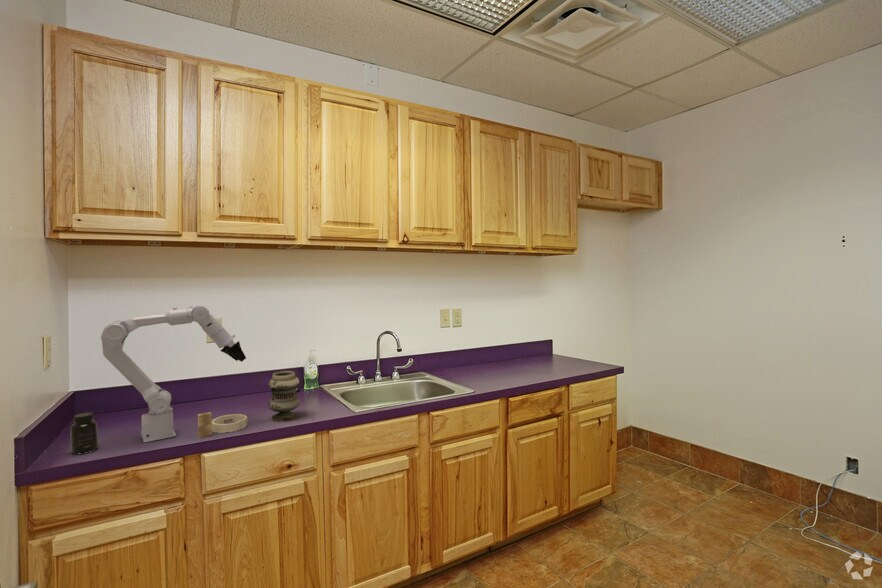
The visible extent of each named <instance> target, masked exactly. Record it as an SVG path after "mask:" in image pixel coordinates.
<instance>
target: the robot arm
mask: <svg viewBox="0 0 882 588" xmlns="http://www.w3.org/2000/svg"><path fill="white" fill-rule="evenodd" d="M193 322H195V323H197V324H198V325H199V326H200V327H201V329H202V330H203V332H204V333H205V334H206V335H207V336H208V337H209V338H210V339H211V340H212V342H214V344H215V345H217V348H218V349H220V352H221V353H223V354H226V355H228V356H229V357H230V358H232V359H233V360H234V361H236V362H238V361H239V362H243V361H245V360H246V359H247V356H246V354H245V353H244V351H243V350H242V347H241V343H240V341H239V340H238V341H237V342H234V338H235V337H236V335H235V334H232V335H231V334H230V333H229V332H228V330H226V328H225V327H223V325H222V324H221V323H220V322H219V321H218V320H217V319H216V317H214V315H212V314H211V313H210V311H209V310H208V308H207V307H205V306H203V305H196V306H194V307H193V305H188V307H182V308H178V307H176V306H175V307H172V309H169V310H167V312H165V313H164V314H163V313H162V314H154V315H153V314H152V315H143V316H134V317H130V318H124V319H122V320H115V321H113V322H111V323H109V324H107V325H105V327H104V328H103V331H102V333H101V336H100V340H101V345H102V355H103V356H104V358H105V359H106V360H108V362H109V363H110V364H111V365H112V366H113V367H114V368H115V369H116V370H117V371H118V372H119V373H120V374H121V375H122V376H123V377H124V378H125V379H126V380H127V381H128V382H129V383H130V384H131V385H132V386H133V387H134V388H135V389H136V390H137V391H138V392H139V394H141V396H142V397H143V400H144V401H145V402H146V403H147V405H148V413H143V414H142V415H141V418H140V419H141V431H140V435H141V439H142V441H143V443H150V442H154V441H158V440H165V439H167V438H173V437H177V433H176V432H175V430H174V411H173V409H174V408H173V407H172V406H171V403H172V394H171V393H170V392H169V391H168V390H166V389H163V388H161V386H159V385H158V384H157V383H155V382H154V381H153V380H152V379H151V378H150V377H149V376H148V375H147V374H146V373H145V372H144V371H143V369H141V368H140V367H139V366H138V365H137V364H136V363H135V361H133V359H131V357H130V356H128V354H127V353H125V351H124V349H123V348H124V345H125V340H126V339H127V338H128V336H129V335H130V333H132V332H133V331H135V330H137V329H138V328H141V327H146V326H153V325H159V324H168V325H170V326H178V325H179V326H180V325H185V324H192V323H193Z"/></svg>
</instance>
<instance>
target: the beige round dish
mask: <svg viewBox="0 0 882 588" xmlns="http://www.w3.org/2000/svg"><path fill="white" fill-rule="evenodd" d="M248 425H249V422H248V416H247V415H246V414H240V413H235V414H233V413H231V414H225V415H221V416H218V417H216V418H213V419H212V433H216V432H217V434H222V433H223V434H227V433H226V432H229V433H232V432H233V431H234V432H237V430H238V431H241V430H243V429H245V428H246V427H248ZM242 428H243V429H242ZM240 429H241V430H240ZM234 432H233V433H234Z"/></svg>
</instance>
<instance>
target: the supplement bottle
mask: <svg viewBox="0 0 882 588" xmlns="http://www.w3.org/2000/svg"><path fill="white" fill-rule="evenodd" d="M69 431H70V433H69V435H70V451H71V454H72V453H74V454H73V455H76V454H78V453H85V452H89V451H92V450H94V449H96V448H97V449H99V436H98V435H99V433H98V423H97V421H95V420H94V413H93V412H83V413H79V414H75V415H74V416H73V424H72V425H71V426H70V428H69ZM97 449H96V450H97ZM94 451H95V450H94ZM92 452H93V451H92ZM89 453H90V452H89ZM85 454H86V453H85ZM78 455H79V454H78Z"/></svg>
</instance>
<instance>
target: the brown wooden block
mask: <svg viewBox="0 0 882 588" xmlns="http://www.w3.org/2000/svg"><path fill="white" fill-rule="evenodd" d="M212 420H213V419H212V412H211V411H208V412H204V413H203V412H202V413H198V414H197V437H198V438H199V439H202V438H206V437H211V436H212V435H213V431H212Z"/></svg>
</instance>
